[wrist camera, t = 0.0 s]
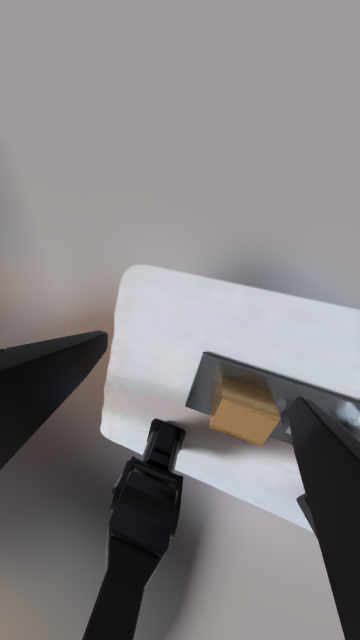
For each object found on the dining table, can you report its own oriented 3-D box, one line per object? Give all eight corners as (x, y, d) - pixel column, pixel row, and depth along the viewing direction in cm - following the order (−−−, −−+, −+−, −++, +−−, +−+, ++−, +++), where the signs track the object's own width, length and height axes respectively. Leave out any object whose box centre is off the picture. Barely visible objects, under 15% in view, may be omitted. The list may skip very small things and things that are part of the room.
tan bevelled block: (255, 419, 26) (261, 446, 22) (210, 403, 27) (208, 427, 23) (271, 392, 24) (281, 418, 20) (221, 376, 24) (222, 398, 21)
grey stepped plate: (342, 457, 26) (362, 491, 22) (185, 402, 29) (181, 424, 25) (392, 412, 22) (427, 444, 18) (203, 352, 24) (200, 369, 21)
